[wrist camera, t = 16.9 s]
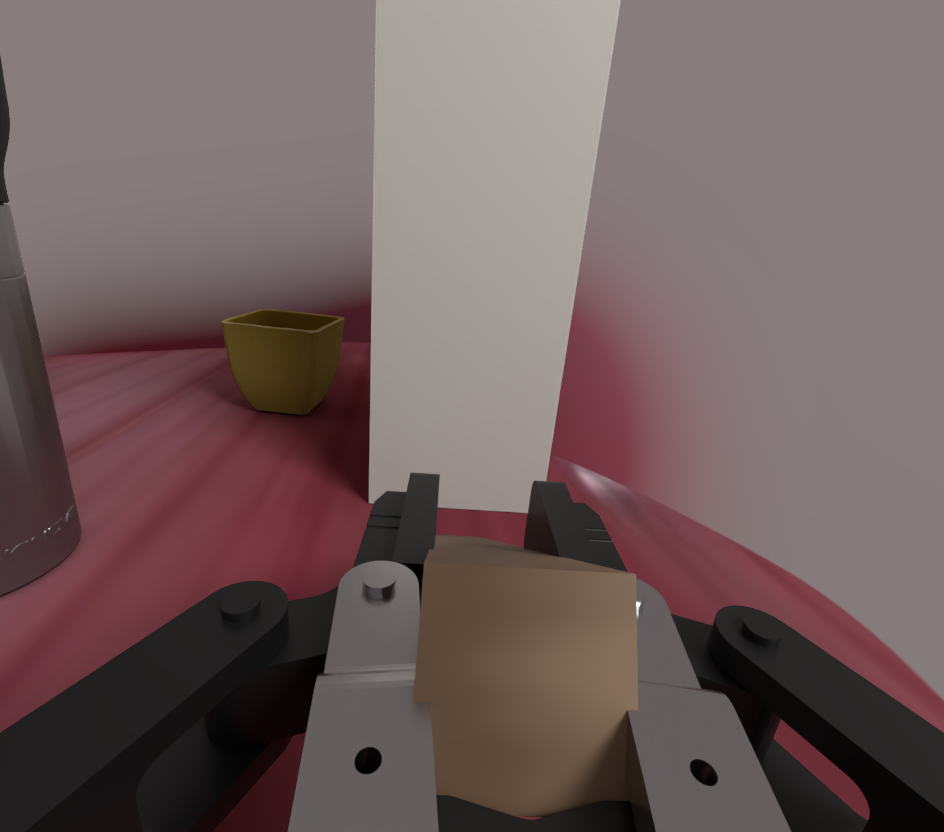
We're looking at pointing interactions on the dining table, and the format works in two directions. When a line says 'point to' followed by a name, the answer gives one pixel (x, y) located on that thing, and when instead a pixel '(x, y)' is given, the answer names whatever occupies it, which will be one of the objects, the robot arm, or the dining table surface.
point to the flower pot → (283, 357)
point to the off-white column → (478, 235)
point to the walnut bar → (526, 675)
